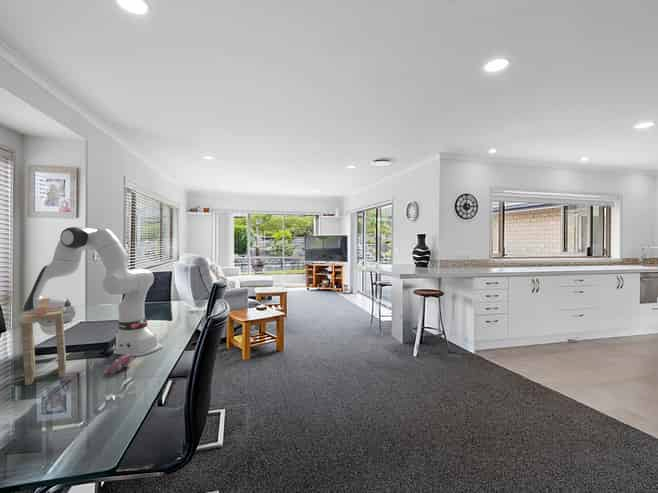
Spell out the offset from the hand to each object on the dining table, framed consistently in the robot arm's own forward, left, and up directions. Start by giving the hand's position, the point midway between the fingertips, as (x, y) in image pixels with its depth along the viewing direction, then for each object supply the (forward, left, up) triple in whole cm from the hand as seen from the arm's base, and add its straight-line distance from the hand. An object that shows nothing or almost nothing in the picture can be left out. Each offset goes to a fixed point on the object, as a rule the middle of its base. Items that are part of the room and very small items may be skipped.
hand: (47, 309), depth 151 cm
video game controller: (-40, -8, -24) cm, 48 cm away
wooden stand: (-18, +8, -24) cm, 31 cm away
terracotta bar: (-13, +6, +2) cm, 14 cm away
